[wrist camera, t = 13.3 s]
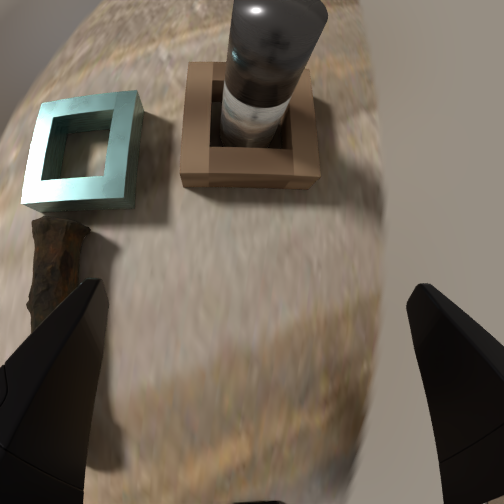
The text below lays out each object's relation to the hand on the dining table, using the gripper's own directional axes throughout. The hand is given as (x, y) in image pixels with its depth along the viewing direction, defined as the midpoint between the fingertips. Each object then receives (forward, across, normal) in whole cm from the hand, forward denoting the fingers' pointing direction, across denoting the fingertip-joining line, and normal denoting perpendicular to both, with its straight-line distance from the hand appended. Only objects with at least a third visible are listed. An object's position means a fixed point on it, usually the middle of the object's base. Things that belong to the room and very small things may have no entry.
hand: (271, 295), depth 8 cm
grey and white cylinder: (+18, -1, +2) cm, 18 cm away
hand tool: (+6, +12, +14) cm, 19 cm away
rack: (+18, -1, +1) cm, 18 cm away
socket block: (+16, +11, +3) cm, 20 cm away
